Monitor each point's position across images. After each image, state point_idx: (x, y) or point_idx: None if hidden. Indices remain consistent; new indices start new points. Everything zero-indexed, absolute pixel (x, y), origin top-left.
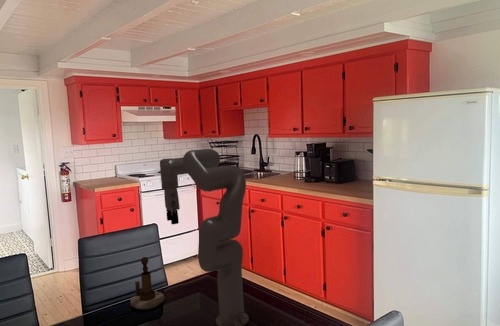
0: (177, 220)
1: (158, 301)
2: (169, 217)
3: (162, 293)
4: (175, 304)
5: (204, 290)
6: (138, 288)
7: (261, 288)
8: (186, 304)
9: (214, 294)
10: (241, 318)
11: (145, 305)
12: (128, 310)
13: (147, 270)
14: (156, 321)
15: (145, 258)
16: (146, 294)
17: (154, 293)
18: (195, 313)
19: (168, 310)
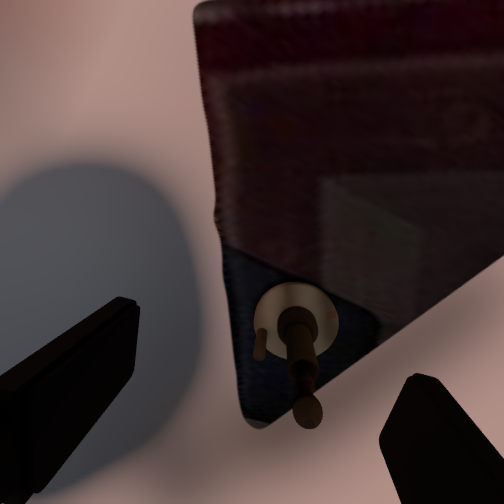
0: (459, 426)
1: (336, 312)
2: (110, 379)
3: (299, 285)
4: (345, 266)
5: (325, 159)
6: (265, 344)
7: None
8: (369, 246)
9: (377, 151)
10: None
11: (331, 341)
12: None
13: (309, 374)
14: (393, 335)
15: (318, 421)
16: (313, 340)
17: (312, 317)
18: (438, 255)
19: (363, 293)
